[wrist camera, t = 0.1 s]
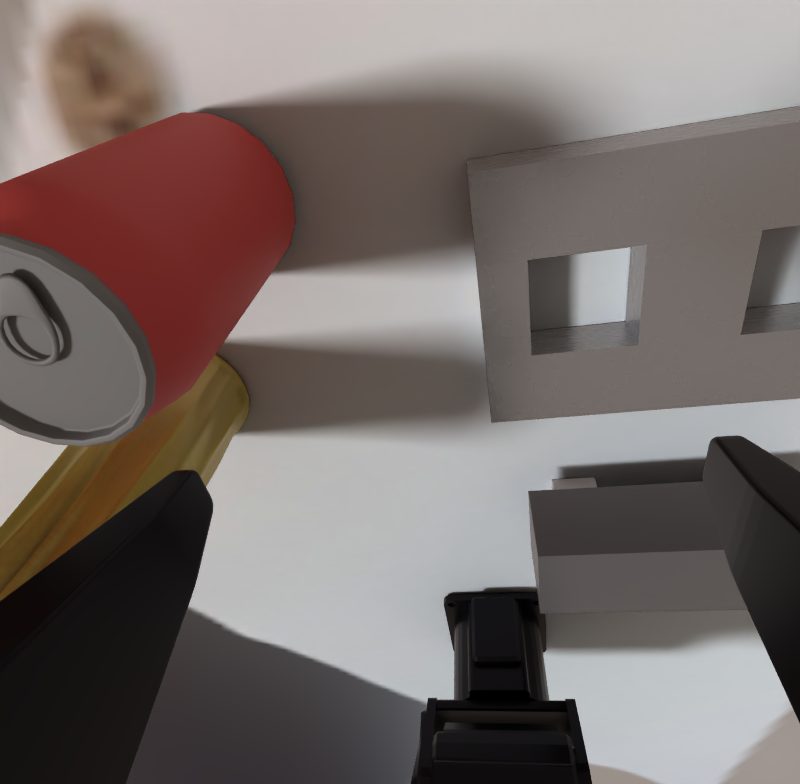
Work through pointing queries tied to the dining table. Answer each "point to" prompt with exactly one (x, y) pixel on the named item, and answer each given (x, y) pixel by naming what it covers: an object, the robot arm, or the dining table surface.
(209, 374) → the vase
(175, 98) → the dining table surface
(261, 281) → the beer can
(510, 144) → the dining table surface
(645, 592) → the grey rectangular block
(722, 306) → the mount plate
